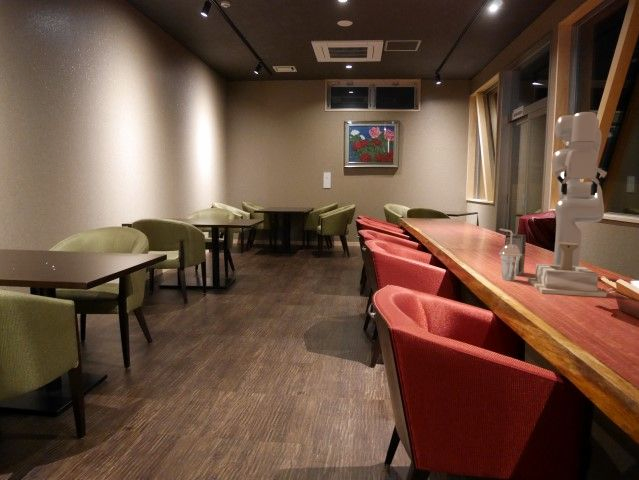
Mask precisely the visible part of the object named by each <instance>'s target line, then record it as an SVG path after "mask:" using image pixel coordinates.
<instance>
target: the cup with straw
mask: <svg viewBox="0 0 639 480" xmlns="http://www.w3.org/2000/svg"><path fill="white" fill-rule="evenodd" d="M498 230H499V231H503V232H509V234H511V236H510V244H507V245H505V244H504V246H503V247H502V248H501V250H499V252H498V256H499V255H500V262H501V275H502V280H503V281H507V282H508V281H510V282H511V281H513V282H514V281H515V278H516V276H517V275H516V271H517V266H518V262H519V259H520V256H522V253H520V250H519V248H518V247H517V246H516V245H513V244H512V235H513V234H514V233H513V231H512V230H510V229H505V228H498Z"/></svg>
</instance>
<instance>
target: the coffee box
mask: <svg viewBox="0 0 639 480" xmlns="http://www.w3.org/2000/svg"><path fill="white" fill-rule="evenodd" d="M510 236H511V233H509V234H507V235H505V243H504V246H505V245H507V244H510ZM526 243H527V234H520V233H519V234H518V233H513V235H512V244H513V245H516V246H517V247H518V248H519V250H520V253H522V256H520V259H519V262H518V266H517V271H516V276H520V275H522V274H524V272H525V262H526V261H525V258H526Z"/></svg>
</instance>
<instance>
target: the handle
mask: <svg viewBox="0 0 639 480" xmlns="http://www.w3.org/2000/svg"><path fill="white" fill-rule="evenodd" d="M558 246H559V247H560V248H561V249H562V258H561V264H560V270H565V271H572V260H573V250H575V249H577V248H578V246H579V244H576V243H566V242H559V243H558Z"/></svg>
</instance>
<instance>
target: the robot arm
mask: <svg viewBox="0 0 639 480" xmlns="http://www.w3.org/2000/svg"><path fill="white" fill-rule="evenodd" d="M599 126H600V120H599V118H598V117H597V114H596V112H593V111H592V112H591V111H582V112H577V113H574V115H573V114H571V115H570V114H568V115H561V116H559V117H558V118H557V120H556V122H555V126H554V134H555V137H556V138H557V139H558V140H560V141H562V143H563V144H564V146H567V148H562V149H558V150H557V151H554V153H553V155H552V158H551V165H552V166H551V167H552V171H553V174H554V176H555V178H556V180H557V184H558V185H557V187H558V189H557V190H558V198H559V200H558V201H557V202H556V203H555V207H554V208H555V222H556V223H555V224H556V225H555V242H554V253H553V265H560V264H561V258H562V249H561V248H560V247H559V246H558V243H559V242H566V243H576V244H579V246H578V248H577V249H575V250H573V260H572V266H580V262H581V261H580V260H581V258H580V257H581V250H582V249H581V246H582V231H581V229H580V228H579V226H578V225H577V224H576V223H599V222H601V221H602V220H603V219H604V214H605V205H604V199H603V198H604V197H603V190H602V187H601V185H600V183H601V182H602V181H603V180H604V178H606V176H607V174H608V172H607V171H606V170H603V169H601V168H599V167H598V159H599V155H600V154H599V153H600V149H601V145H602V137H603V135H602V130H601V129H600V127H599ZM598 174H600V175H599V177H598V178H597V176H598ZM581 180H589V181H581Z"/></svg>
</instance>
